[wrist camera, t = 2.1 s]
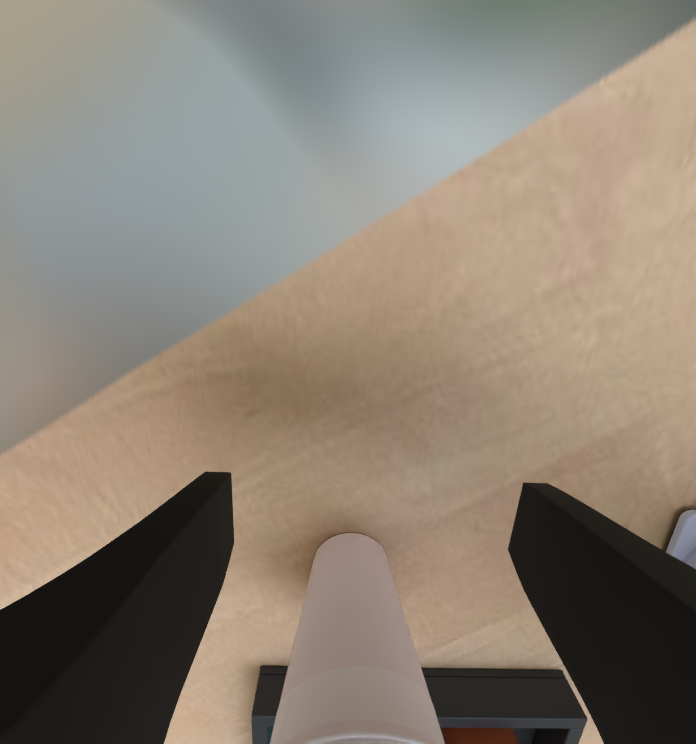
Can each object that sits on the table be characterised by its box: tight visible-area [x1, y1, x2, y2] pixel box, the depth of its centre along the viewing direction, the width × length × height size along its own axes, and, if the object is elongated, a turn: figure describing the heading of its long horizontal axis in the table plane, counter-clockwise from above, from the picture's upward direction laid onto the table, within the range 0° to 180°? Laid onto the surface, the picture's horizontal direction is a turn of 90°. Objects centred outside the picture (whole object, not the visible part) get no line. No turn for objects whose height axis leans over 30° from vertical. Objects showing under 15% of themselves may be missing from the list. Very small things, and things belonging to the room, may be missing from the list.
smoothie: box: [270, 533, 445, 744], centre depth 12 cm, size 6×6×14 cm
